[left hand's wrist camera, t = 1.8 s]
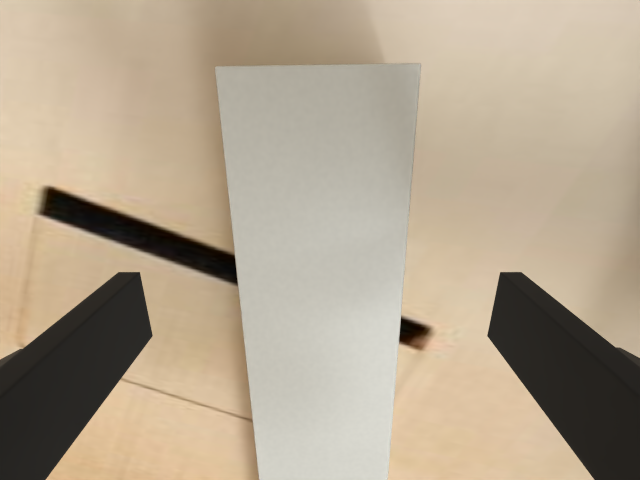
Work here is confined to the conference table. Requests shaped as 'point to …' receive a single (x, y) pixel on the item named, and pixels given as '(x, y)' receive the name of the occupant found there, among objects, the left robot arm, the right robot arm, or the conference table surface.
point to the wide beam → (320, 256)
